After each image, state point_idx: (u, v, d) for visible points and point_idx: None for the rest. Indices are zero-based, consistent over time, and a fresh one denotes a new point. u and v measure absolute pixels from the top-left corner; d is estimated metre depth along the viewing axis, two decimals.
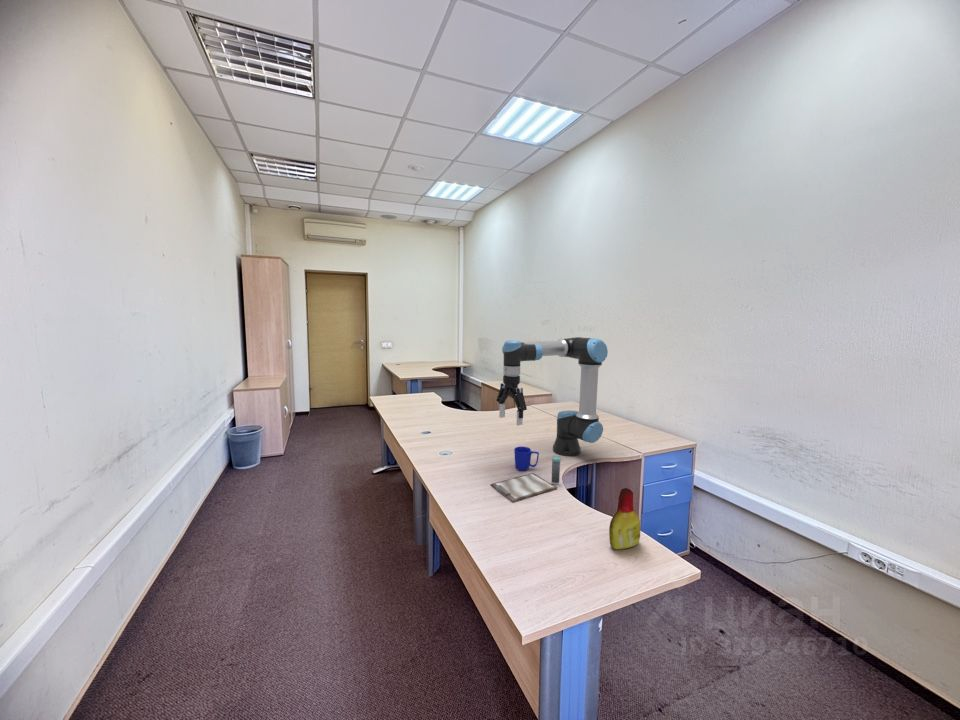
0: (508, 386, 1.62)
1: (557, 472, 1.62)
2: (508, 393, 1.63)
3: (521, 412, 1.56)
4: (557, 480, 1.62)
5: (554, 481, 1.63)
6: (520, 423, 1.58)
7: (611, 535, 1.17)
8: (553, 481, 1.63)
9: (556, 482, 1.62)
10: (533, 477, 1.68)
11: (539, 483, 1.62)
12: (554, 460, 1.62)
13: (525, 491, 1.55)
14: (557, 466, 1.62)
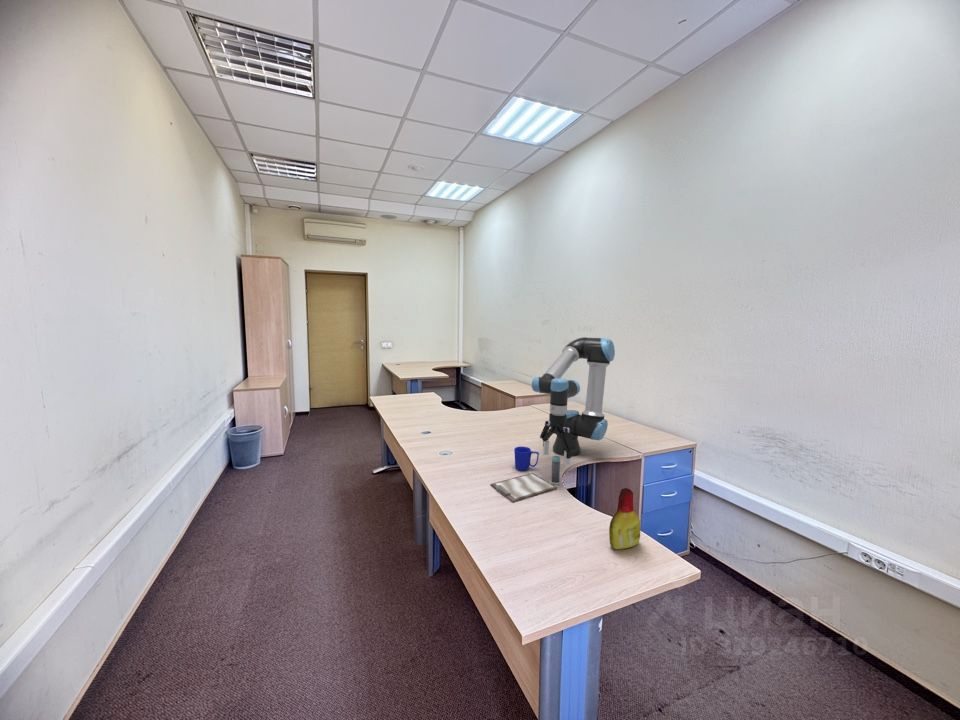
0: (554, 425, 1.61)
1: (557, 472, 1.62)
2: (554, 432, 1.61)
3: (569, 452, 1.55)
4: (557, 480, 1.62)
5: (554, 481, 1.63)
6: (567, 463, 1.57)
7: (611, 535, 1.17)
8: (553, 481, 1.63)
9: (556, 482, 1.62)
10: (533, 477, 1.68)
11: (539, 483, 1.62)
12: (554, 460, 1.62)
13: (525, 491, 1.55)
14: (557, 466, 1.62)
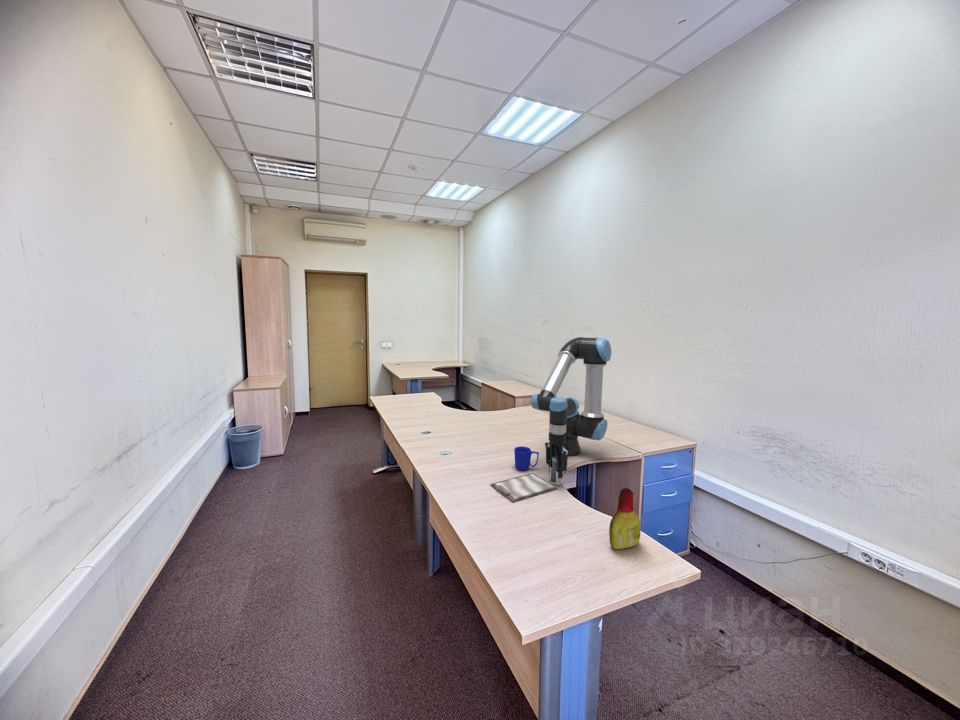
0: None
1: None
2: (553, 450, 1.62)
3: (561, 472, 1.60)
4: None
5: (554, 481, 1.63)
6: (559, 482, 1.62)
7: (611, 535, 1.17)
8: (553, 481, 1.63)
9: None
10: (533, 477, 1.68)
11: (539, 483, 1.62)
12: (554, 460, 1.62)
13: (525, 491, 1.55)
14: None
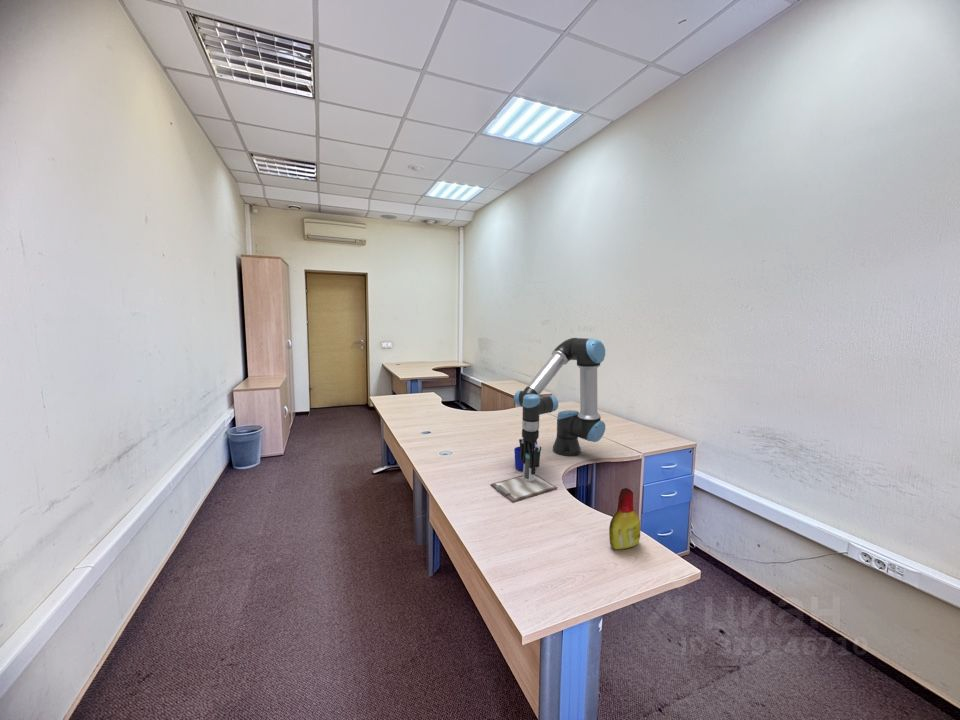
0: None
1: None
2: (527, 447, 1.63)
3: (533, 469, 1.61)
4: None
5: (527, 477, 1.63)
6: (532, 479, 1.63)
7: (611, 535, 1.17)
8: (526, 477, 1.64)
9: None
10: None
11: (539, 483, 1.62)
12: (527, 456, 1.62)
13: (525, 491, 1.55)
14: None
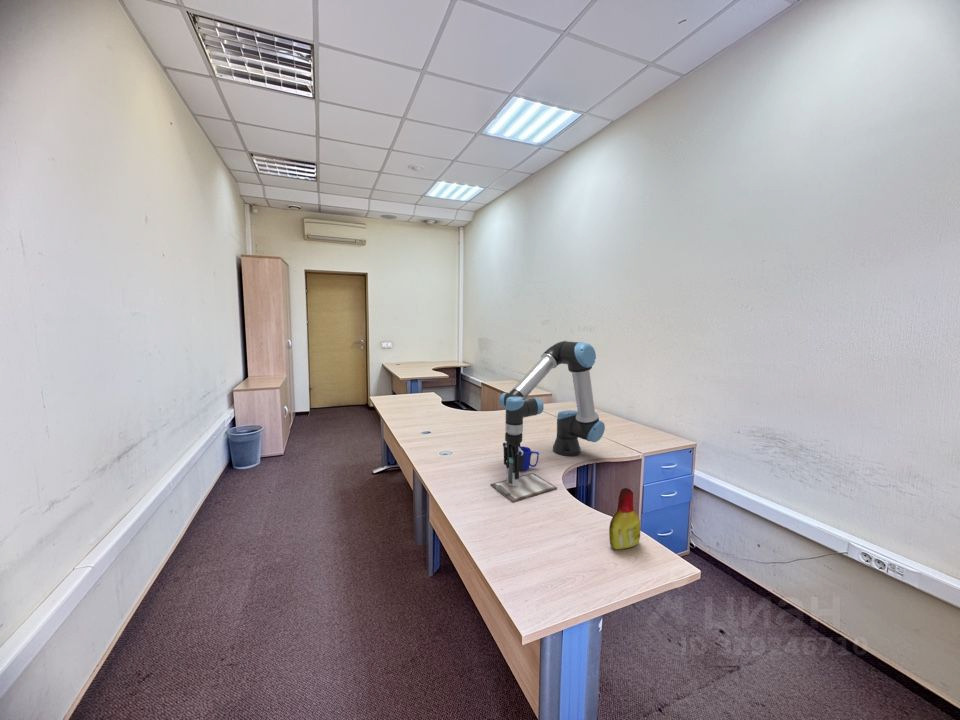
0: None
1: None
2: (510, 451, 1.58)
3: (517, 473, 1.56)
4: None
5: (511, 482, 1.59)
6: (516, 484, 1.58)
7: (611, 535, 1.17)
8: (510, 482, 1.59)
9: None
10: (533, 477, 1.68)
11: (539, 483, 1.62)
12: (510, 461, 1.58)
13: (525, 491, 1.55)
14: (513, 467, 1.58)
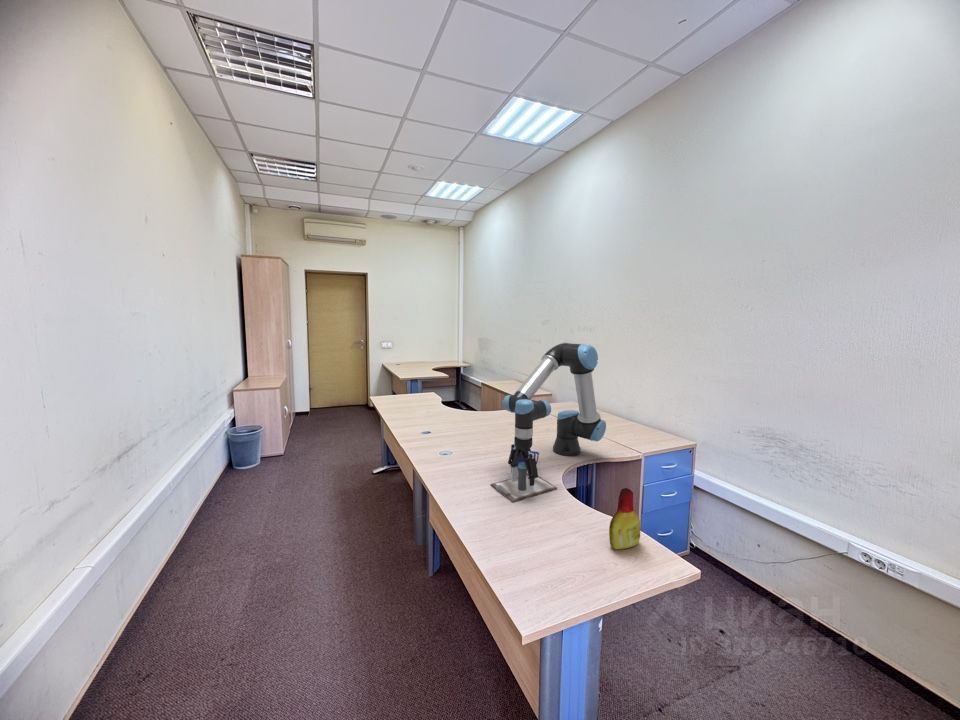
0: (519, 447, 1.52)
1: (523, 479, 1.52)
2: (520, 456, 1.53)
3: (532, 479, 1.47)
4: (523, 488, 1.53)
5: (520, 489, 1.53)
6: (531, 490, 1.49)
7: (611, 535, 1.17)
8: (519, 489, 1.53)
9: (522, 490, 1.53)
10: None
11: (539, 483, 1.62)
12: (520, 467, 1.52)
13: None
14: (523, 473, 1.52)
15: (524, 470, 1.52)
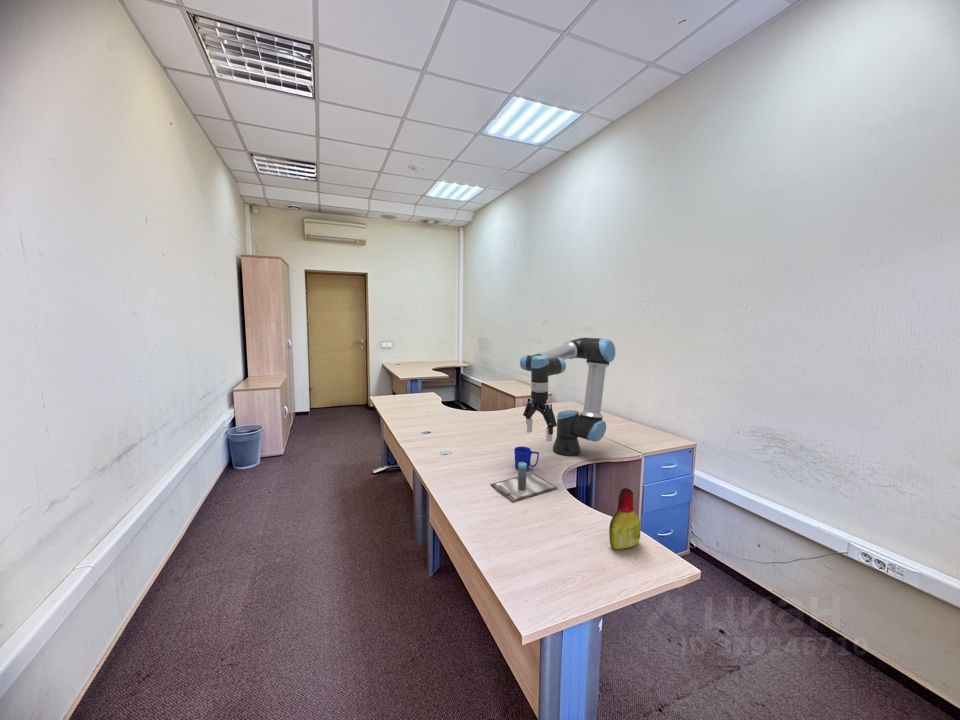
0: (536, 402, 1.61)
1: (523, 479, 1.52)
2: (536, 409, 1.62)
3: (551, 428, 1.56)
4: (523, 488, 1.53)
5: (520, 489, 1.53)
6: (550, 439, 1.58)
7: (611, 535, 1.17)
8: (519, 489, 1.53)
9: (522, 490, 1.53)
10: (533, 477, 1.68)
11: (539, 483, 1.62)
12: (520, 467, 1.52)
13: None
14: (523, 473, 1.52)
15: (524, 470, 1.52)
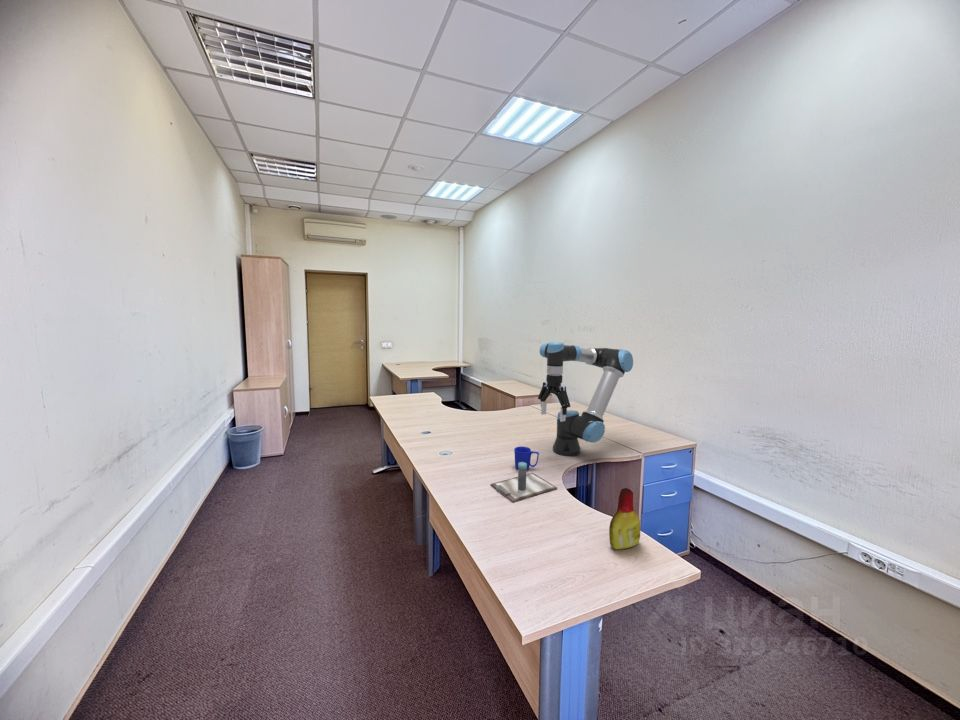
0: (551, 385, 1.73)
1: (523, 479, 1.52)
2: (551, 391, 1.74)
3: (565, 409, 1.67)
4: (523, 488, 1.53)
5: (520, 489, 1.53)
6: (563, 419, 1.69)
7: (611, 535, 1.17)
8: (519, 489, 1.53)
9: (522, 490, 1.53)
10: (533, 477, 1.68)
11: (539, 483, 1.62)
12: (520, 467, 1.52)
13: None
14: (523, 473, 1.52)
15: (524, 470, 1.52)
